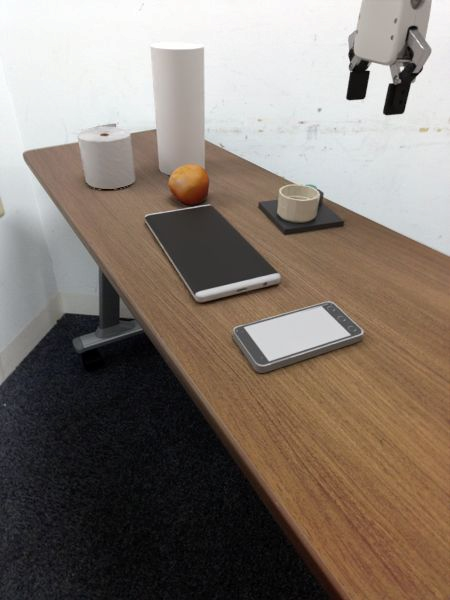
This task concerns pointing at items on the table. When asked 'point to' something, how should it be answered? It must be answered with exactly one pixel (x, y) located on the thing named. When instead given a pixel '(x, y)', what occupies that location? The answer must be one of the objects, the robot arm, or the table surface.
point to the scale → (321, 221)
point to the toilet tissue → (107, 156)
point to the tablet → (210, 253)
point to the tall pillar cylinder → (179, 104)
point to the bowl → (298, 203)
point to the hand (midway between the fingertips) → (373, 106)
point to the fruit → (189, 184)
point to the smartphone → (296, 336)
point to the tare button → (312, 186)
